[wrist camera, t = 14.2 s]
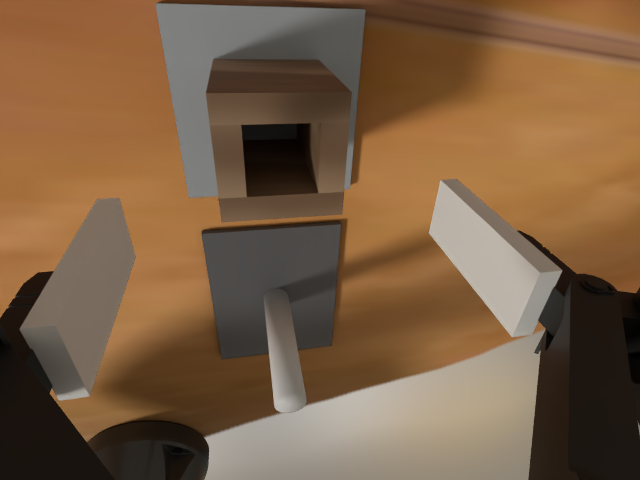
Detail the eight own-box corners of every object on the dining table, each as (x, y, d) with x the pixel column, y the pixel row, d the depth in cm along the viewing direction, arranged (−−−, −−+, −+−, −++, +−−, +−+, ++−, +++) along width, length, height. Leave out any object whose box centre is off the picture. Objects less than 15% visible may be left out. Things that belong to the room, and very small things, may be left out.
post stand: (330, 342, 44) (358, 447, 34) (221, 355, 42) (219, 471, 32) (339, 221, 35) (381, 316, 25) (201, 230, 33) (189, 338, 23)
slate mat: (348, 185, 33) (349, 189, 33) (189, 194, 31) (188, 197, 30) (362, 8, 26) (365, 9, 25) (156, 2, 24) (155, 3, 23)
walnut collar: (315, 156, 30) (342, 214, 23) (224, 160, 29) (221, 222, 22) (318, 59, 26) (351, 91, 19) (213, 58, 25) (205, 93, 18)
